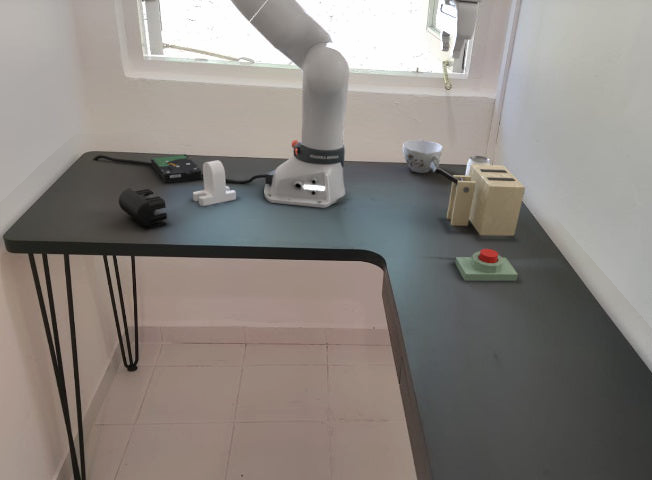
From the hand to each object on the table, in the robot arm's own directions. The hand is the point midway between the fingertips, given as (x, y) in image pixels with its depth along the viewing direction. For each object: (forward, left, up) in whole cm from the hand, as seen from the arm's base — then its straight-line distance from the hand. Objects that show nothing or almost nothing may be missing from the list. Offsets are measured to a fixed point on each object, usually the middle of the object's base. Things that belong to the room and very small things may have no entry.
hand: (449, 54), depth 142 cm
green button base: (+5, -36, -39) cm, 54 cm away
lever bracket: (+5, -11, -39) cm, 41 cm away
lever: (+1, -12, -28) cm, 30 cm away
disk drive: (-69, +22, -40) cm, 82 cm away
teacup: (+5, +31, -40) cm, 50 cm away
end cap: (-72, -12, -40) cm, 83 cm away
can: (+15, +8, -40) cm, 43 cm away
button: (+5, -36, -36) cm, 52 cm away
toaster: (+13, -11, -39) cm, 43 cm away
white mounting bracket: (-57, +3, -40) cm, 69 cm away
